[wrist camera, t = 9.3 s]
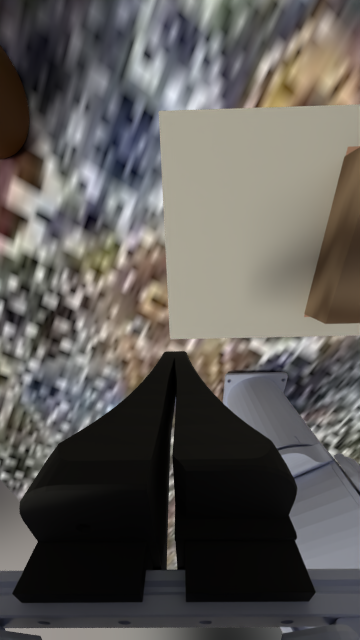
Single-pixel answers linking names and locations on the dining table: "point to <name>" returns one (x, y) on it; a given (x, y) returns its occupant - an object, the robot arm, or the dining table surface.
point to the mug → (12, 109)
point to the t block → (340, 253)
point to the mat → (250, 216)
